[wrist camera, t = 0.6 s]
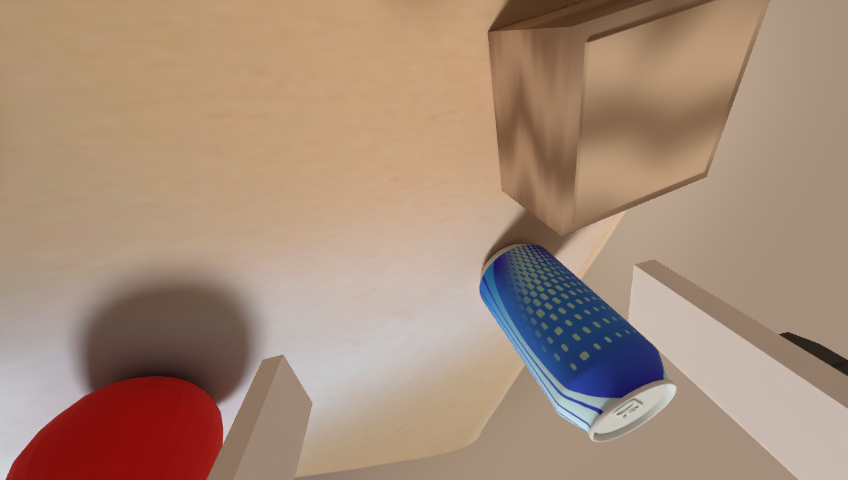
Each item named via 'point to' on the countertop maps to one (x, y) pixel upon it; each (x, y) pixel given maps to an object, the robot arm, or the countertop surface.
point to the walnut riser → (615, 101)
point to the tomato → (128, 435)
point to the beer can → (574, 343)
